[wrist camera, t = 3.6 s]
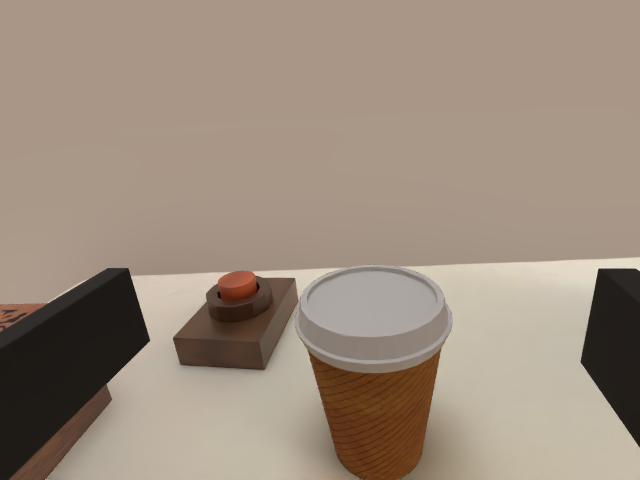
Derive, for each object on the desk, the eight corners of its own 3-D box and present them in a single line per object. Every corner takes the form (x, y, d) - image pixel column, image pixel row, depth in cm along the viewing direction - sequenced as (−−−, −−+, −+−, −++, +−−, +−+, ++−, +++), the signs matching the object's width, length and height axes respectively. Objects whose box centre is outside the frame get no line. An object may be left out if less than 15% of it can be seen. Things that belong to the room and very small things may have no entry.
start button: (262, 284, 41) (260, 270, 41) (249, 302, 38) (246, 287, 37) (230, 284, 42) (227, 270, 42) (214, 301, 38) (210, 287, 38)
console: (298, 300, 46) (293, 264, 45) (264, 369, 35) (256, 325, 33) (233, 298, 48) (226, 264, 47) (179, 364, 37) (167, 322, 35)
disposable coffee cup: (285, 463, 25) (259, 315, 21) (351, 377, 33) (341, 254, 28) (419, 542, 20) (420, 366, 16) (462, 418, 27) (470, 275, 23)
